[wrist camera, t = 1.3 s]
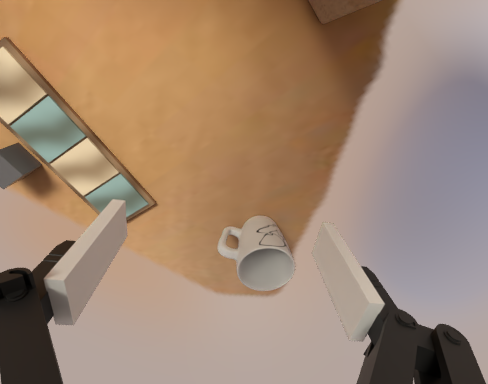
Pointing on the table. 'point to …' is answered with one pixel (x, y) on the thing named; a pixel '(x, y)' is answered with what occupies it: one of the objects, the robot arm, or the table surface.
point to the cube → (15, 164)
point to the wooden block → (337, 8)
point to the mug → (259, 254)
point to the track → (62, 137)
